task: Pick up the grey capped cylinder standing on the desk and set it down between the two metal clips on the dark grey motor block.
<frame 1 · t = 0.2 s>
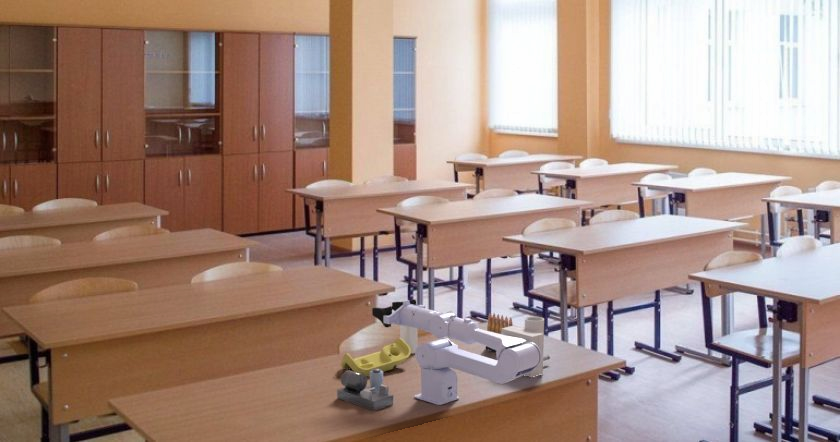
hand: (383, 308, 274), 21 cm above the table, tool horizontal, fingers open, 7 cm apart
ammunition clip: (499, 353, 308), on the table
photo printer: (408, 350, 311), on the table
plastic component: (378, 370, 290), on the table
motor: (365, 401, 261), on the table
grey capped cylinder: (376, 391, 269), on the table
thermostat: (532, 369, 291), on the table
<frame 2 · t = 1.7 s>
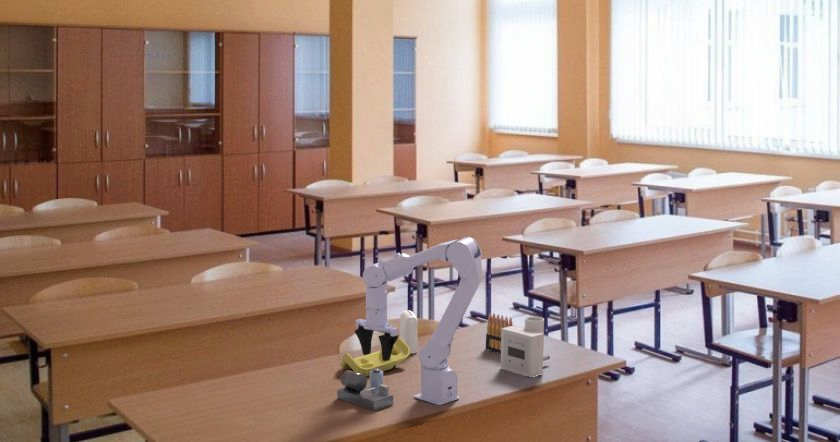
hand: (376, 357, 268), 10 cm above the table, tool pointing down, fingers open, 7 cm apart
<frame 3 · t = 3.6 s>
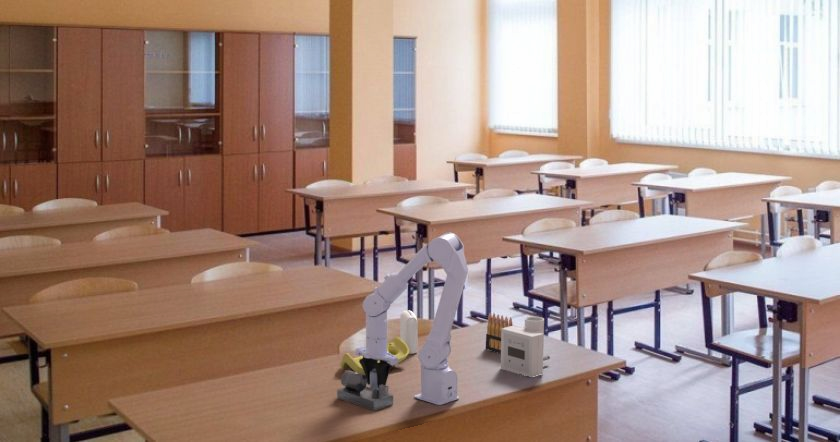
hand: (376, 385, 269), 2 cm above the table, tool pointing down, fingers closed on grey capped cylinder, 4 cm apart
grey capped cylinder: (376, 391, 269), on the table, touching gripper
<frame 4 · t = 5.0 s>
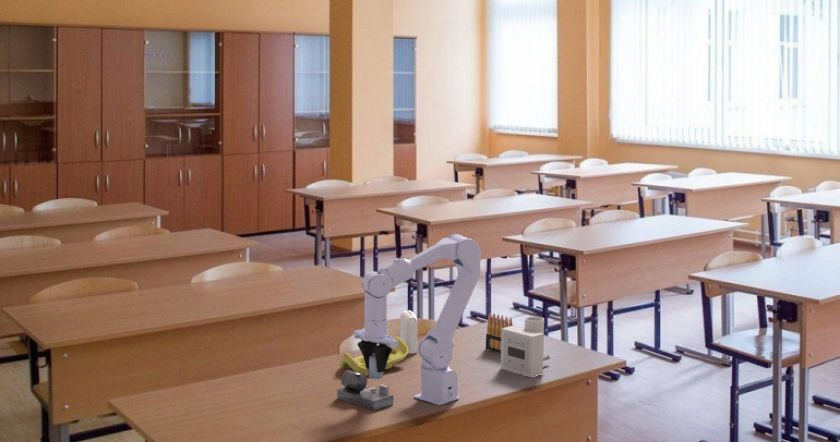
hand: (375, 369, 257), 9 cm above the table, tool pointing down, fingers closed on grey capped cylinder, 4 cm apart
grey capped cylinder: (376, 376, 257), point 7 cm above the table, touching gripper
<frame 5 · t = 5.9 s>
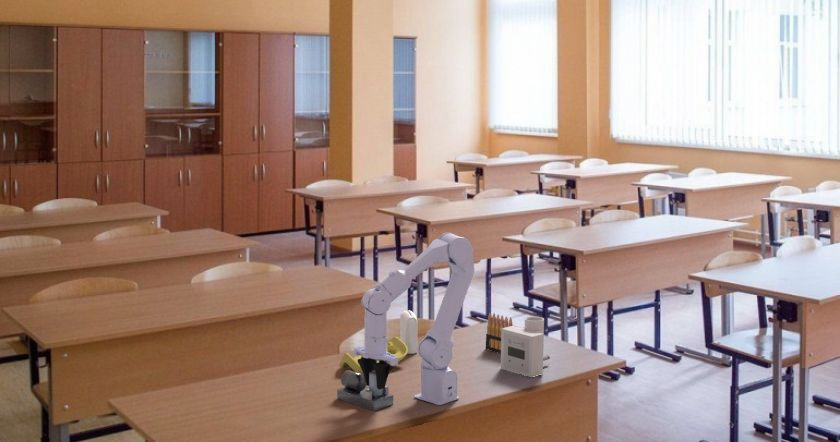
hand: (375, 386, 257), 5 cm above the table, tool pointing down, fingers closed on grey capped cylinder, 4 cm apart
grey capped cylinder: (376, 393, 258), point 3 cm above the table, touching gripper
when the fingers open (5 cm above the table, at t = 6.6 s): grey capped cylinder stays where it is, resting on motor.
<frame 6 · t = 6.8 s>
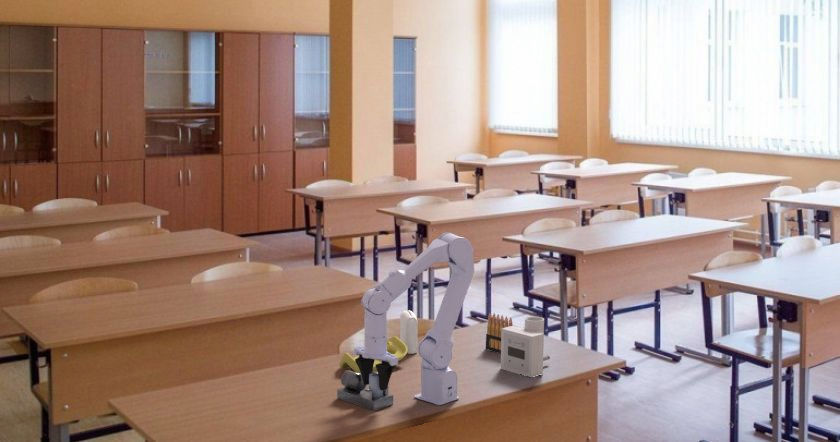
hand: (375, 386, 257), 5 cm above the table, tool pointing down, fingers open, 5 cm apart
grey capped cylinder: (376, 395, 258), point 2 cm above the table, touching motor
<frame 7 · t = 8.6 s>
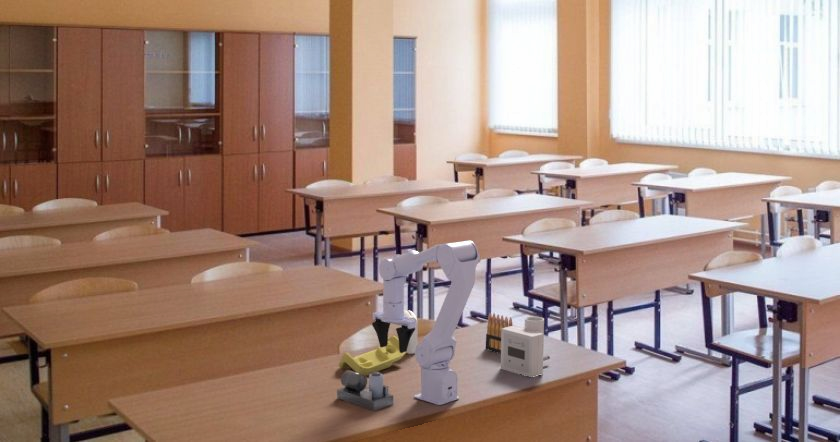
hand: (393, 349, 274), 10 cm above the table, tool pointing down, fingers open, 7 cm apart
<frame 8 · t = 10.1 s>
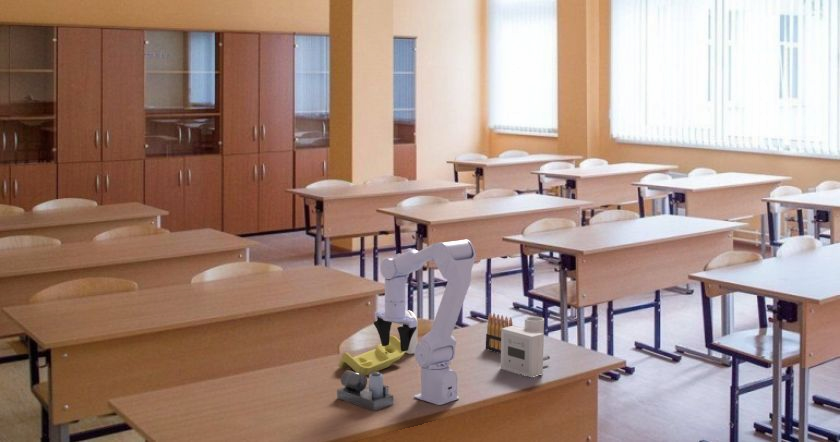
hand: (394, 348, 276), 10 cm above the table, tool pointing down, fingers open, 7 cm apart
at the end: grey capped cylinder 0.2 cm from the target spot on the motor, point 2.5 cm above the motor's base; grey capped cylinder tilted 0°; the gripper is holding nothing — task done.
